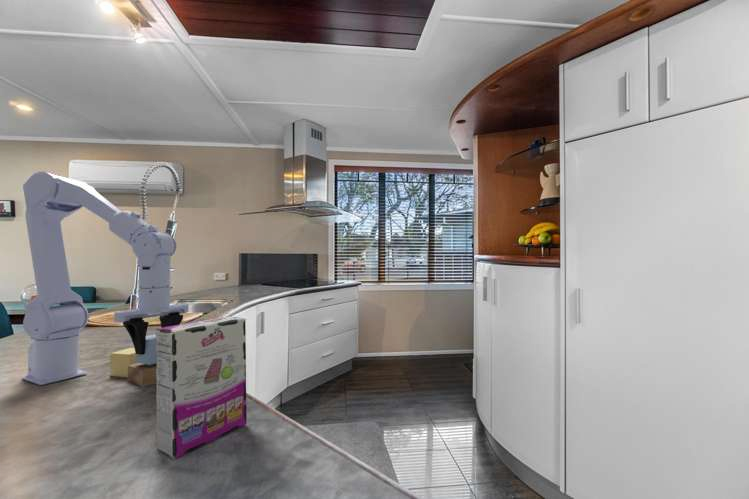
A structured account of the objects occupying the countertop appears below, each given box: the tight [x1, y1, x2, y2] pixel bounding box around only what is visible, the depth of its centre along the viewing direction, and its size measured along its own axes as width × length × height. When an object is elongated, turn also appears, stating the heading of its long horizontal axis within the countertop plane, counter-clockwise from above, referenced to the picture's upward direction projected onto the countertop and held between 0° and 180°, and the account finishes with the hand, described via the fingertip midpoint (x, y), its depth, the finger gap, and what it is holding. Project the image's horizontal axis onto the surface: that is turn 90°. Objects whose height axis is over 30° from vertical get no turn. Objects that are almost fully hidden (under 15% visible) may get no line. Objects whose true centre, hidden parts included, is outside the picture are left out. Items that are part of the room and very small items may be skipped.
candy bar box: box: [155, 315, 247, 460], centre depth 50 cm, size 11×5×16 cm, turn 148°
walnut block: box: [127, 363, 157, 388], centre depth 74 cm, size 7×7×4 cm
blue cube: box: [136, 333, 156, 365], centre depth 74 cm, size 5×5×5 cm
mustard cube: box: [109, 347, 139, 378], centre depth 78 cm, size 5×5×5 cm
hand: (153, 350), depth 74 cm, fingers closed on blue cube, 5 cm apart
